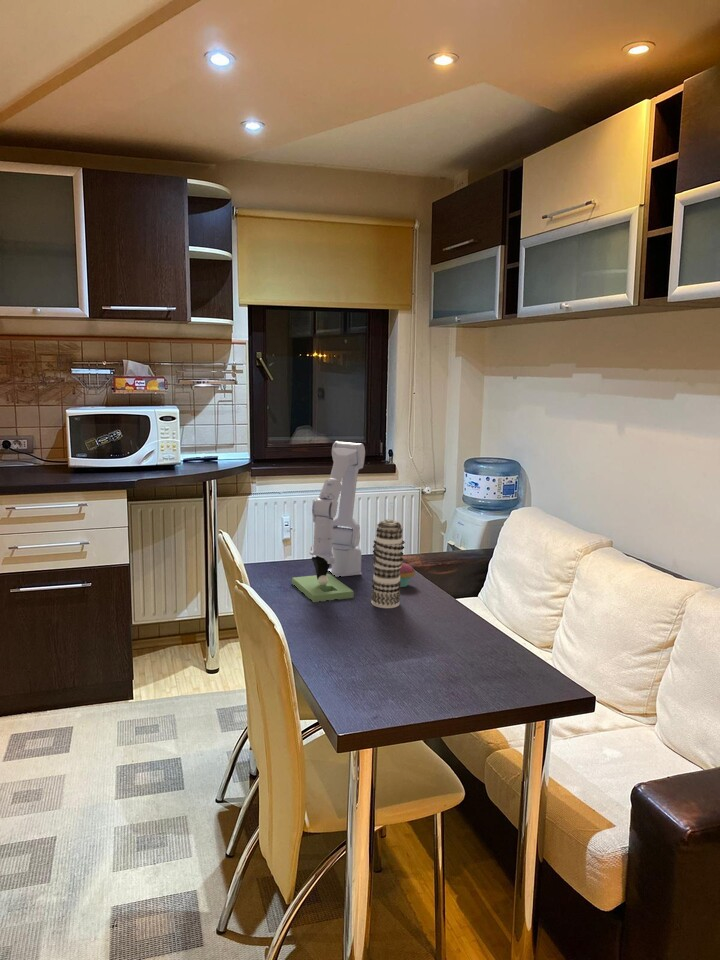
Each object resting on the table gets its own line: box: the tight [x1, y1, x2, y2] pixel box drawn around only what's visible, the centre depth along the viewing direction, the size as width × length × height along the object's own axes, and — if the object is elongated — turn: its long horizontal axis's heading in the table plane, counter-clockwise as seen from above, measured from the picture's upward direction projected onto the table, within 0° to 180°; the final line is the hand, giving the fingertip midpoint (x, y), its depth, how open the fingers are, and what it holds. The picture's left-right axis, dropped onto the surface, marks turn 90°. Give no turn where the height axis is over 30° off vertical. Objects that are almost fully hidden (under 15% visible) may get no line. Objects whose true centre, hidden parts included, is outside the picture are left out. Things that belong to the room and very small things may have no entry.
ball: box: [318, 575, 328, 586], centre depth 221 cm, size 3×3×3 cm
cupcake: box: [400, 561, 416, 588], centre depth 231 cm, size 9×8×12 cm
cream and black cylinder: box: [370, 519, 406, 609], centre depth 212 cm, size 9×9×25 cm
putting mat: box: [291, 573, 354, 603], centre depth 222 cm, size 13×18×2 cm
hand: (321, 580), depth 222 cm, fingers closed, pressing on ball
